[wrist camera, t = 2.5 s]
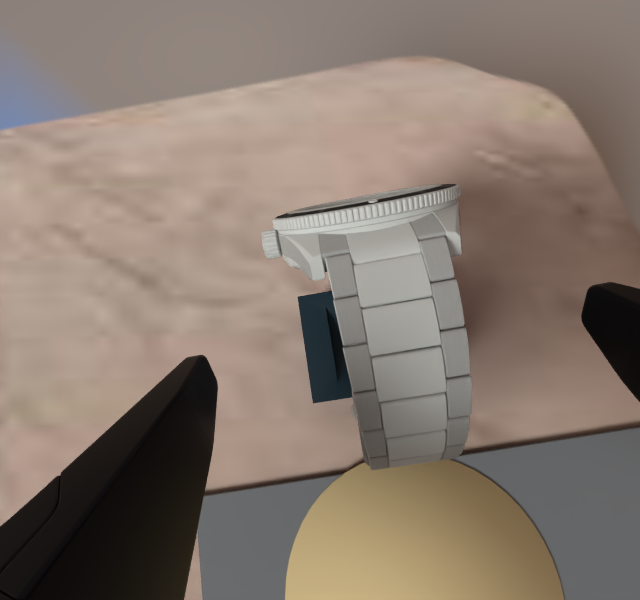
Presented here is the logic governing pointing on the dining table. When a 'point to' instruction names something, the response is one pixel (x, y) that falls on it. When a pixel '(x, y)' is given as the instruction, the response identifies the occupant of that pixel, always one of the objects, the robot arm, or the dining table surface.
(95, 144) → the dining table surface
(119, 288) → the dining table surface
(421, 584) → the mat
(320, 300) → the watch
